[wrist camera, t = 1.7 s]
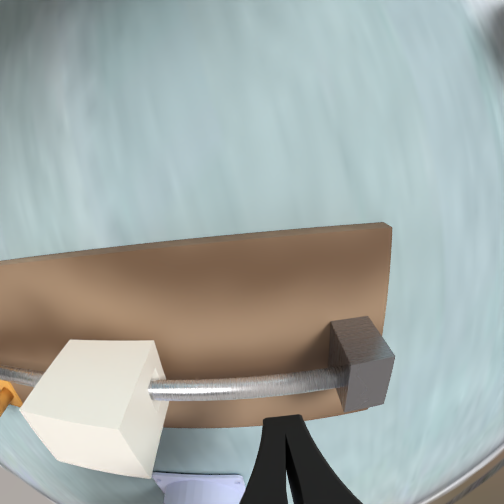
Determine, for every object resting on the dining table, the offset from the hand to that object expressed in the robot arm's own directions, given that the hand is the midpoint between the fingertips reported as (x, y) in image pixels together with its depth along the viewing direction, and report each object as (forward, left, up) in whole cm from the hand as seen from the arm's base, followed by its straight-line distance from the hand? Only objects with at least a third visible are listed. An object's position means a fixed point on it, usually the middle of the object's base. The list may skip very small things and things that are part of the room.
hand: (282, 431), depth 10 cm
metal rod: (0, +9, -6) cm, 11 cm away
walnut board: (0, +11, -6) cm, 13 cm away
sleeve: (0, +8, -4) cm, 9 cm away
